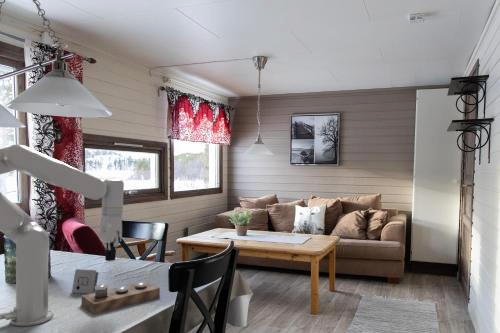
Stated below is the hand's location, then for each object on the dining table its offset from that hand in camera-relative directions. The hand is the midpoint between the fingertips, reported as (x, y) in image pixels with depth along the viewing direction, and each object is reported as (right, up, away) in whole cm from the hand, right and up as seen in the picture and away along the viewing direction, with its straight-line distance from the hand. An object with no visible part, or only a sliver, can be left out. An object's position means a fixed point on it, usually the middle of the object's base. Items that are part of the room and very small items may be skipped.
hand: (110, 260), depth 146 cm
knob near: (-2, -14, -2) cm, 14 cm away
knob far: (+9, -16, +9) cm, 20 cm away
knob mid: (+3, -16, +3) cm, 17 cm away
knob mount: (+3, -17, +3) cm, 17 cm away
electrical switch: (-15, -17, +14) cm, 27 cm away
